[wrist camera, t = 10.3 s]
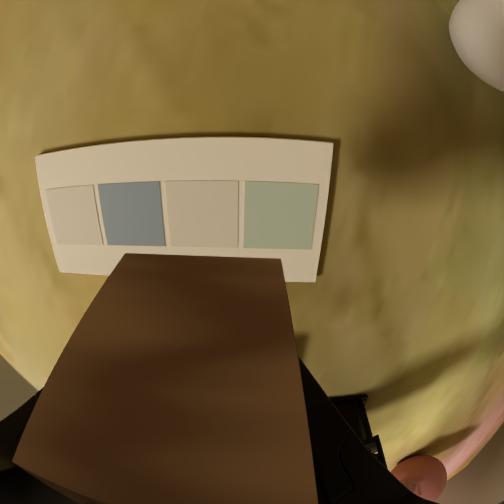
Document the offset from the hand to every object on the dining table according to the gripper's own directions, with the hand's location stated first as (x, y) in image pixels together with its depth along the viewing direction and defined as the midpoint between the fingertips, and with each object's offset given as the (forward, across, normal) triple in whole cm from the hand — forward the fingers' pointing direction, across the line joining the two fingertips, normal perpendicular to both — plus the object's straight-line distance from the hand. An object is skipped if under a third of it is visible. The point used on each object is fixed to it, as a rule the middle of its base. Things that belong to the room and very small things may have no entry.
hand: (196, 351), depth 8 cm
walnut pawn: (+2, 0, 0) cm, 2 cm away
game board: (+12, +4, 0) cm, 13 cm away
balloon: (+12, -40, +56) cm, 69 cm away
